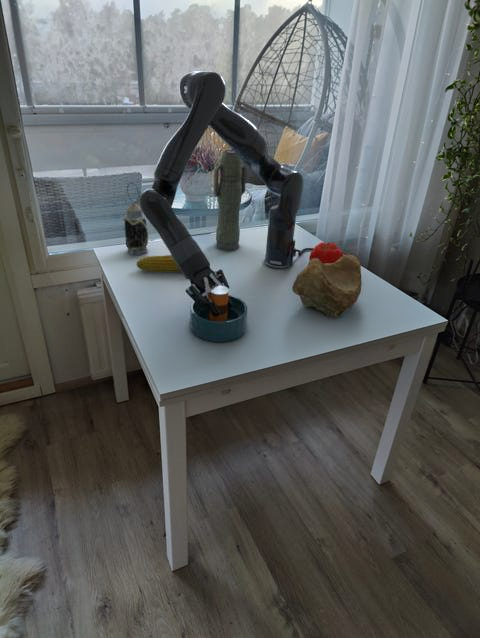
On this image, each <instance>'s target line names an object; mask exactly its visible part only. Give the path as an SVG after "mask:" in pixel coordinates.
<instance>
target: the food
mask: <svg viewBox="0 0 480 638" xmlns="http://www.w3.org/2000/svg"><path fill="white" fill-rule="evenodd" d="M136 267H137V268H138V269H139V270H142V271H143V272H155V273H156V272H157V273H158V272H159V273H176V272H178V273H179V272H180V273H182V271H181V270H180V268H179V267H178V265H177V264H176V262H175V261H174V259H173V257H172V255H171V254H169V255H153V256H145V257H143V258H140V259H139V260H137V261H136Z"/></svg>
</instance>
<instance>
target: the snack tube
mask: <svg viewBox="0 0 480 638" xmlns="http://www.w3.org/2000/svg"><path fill="white" fill-rule="evenodd" d="M210 292H211V297H212V300H213V302H214V303H215V304H216V306H217V307H218V309H219V310H220V312H221V314H220V315H219V316H217V317H214V316H213V315H212V314H211V312H210V321H220V322H222V321H227V313H228V295H229V292H230V288H229V289H228V288H227V287H225V286H224V285H223V286H221V285H216V286H213V287H211V288H210Z"/></svg>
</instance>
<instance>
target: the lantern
mask: <svg viewBox="0 0 480 638" xmlns="http://www.w3.org/2000/svg"><path fill="white" fill-rule="evenodd" d="M130 184H132V185H134V187H135V188H136V189H137V192H138V193H137V194H138V199H137V201H135V200H134V201H133V200H132V199H131V197H130V194H129V186H130ZM126 191H127V195H128V198H129V200H130V201H131V204H130V205H129V206H128V207H126V213H125V215H124V217H123V219H122V220H123V222H124V232H125V233H124V235H125V246H126V248H127V253H128V254H130V255H132V256H141V255H145V254H147V252H148V248H147V245H148V243H149V232H148V230H149V229H148V227H147V220H146V216H145V215H144V214H143V212H142V210H141V208H140V205H139V204H137V203H139V199H140V196H141V194H140V191H139V188H138V186H137V185H136V184H135V183H134V182H129V183H128V184H127V188H126Z"/></svg>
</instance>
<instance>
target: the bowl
mask: <svg viewBox="0 0 480 638" xmlns="http://www.w3.org/2000/svg"><path fill="white" fill-rule="evenodd" d="M228 296H229V298H230V299H231V301H232V304H233V306H232V307H230V308H229V309H228V313H227V321H222V322H220V321H210V311H209V309H208V308H207V306H201V307H200V306H199V305H198V304H197V303H196V302H195V301H194V300H193V301H192V302H191V304H190V307H189V311H190V312H189V313H190V319H189V320H190V322H189V323H190V329H191V332H192V333H193V334H195V336H197V337H199V338H200V339H203V340H206V341H210V342H219V343H220V342H229V341H230V342H231V341H232V340H236V339H238V338H240V337H241V336H242V335H244V333H245V332H246V330H247V319H248V306H247V303H246V302H245V301H244V300H243V299H241V298H239V297H237V296H235V295H231V294H228ZM206 298H207V297H206ZM198 299H199V298H198ZM199 300H200V299H199ZM200 301H201V300H200Z"/></svg>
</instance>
